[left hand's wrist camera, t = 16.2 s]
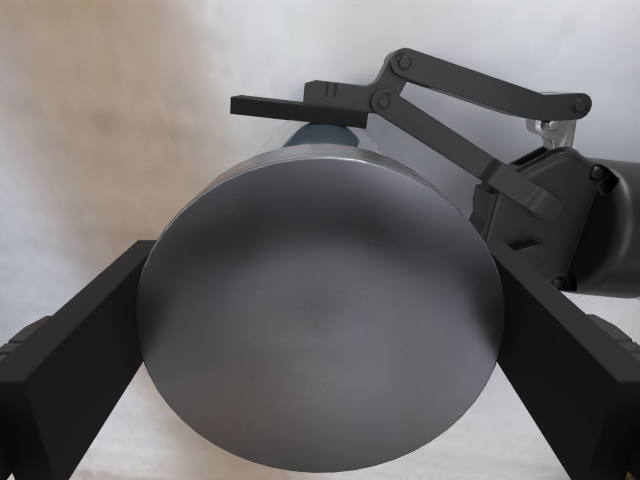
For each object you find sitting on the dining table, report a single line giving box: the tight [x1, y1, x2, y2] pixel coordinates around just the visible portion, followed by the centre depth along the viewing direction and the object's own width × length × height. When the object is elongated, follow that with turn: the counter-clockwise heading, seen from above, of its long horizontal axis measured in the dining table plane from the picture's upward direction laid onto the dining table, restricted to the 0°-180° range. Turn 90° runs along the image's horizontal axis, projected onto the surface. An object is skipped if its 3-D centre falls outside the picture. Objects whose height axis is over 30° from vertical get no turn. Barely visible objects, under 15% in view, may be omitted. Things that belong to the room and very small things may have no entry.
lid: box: [135, 144, 505, 473], centre depth 11 cm, size 9×9×2 cm
